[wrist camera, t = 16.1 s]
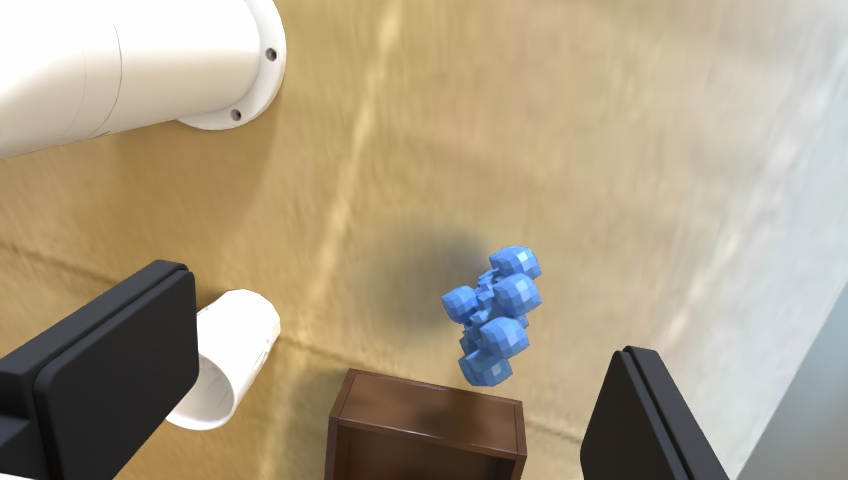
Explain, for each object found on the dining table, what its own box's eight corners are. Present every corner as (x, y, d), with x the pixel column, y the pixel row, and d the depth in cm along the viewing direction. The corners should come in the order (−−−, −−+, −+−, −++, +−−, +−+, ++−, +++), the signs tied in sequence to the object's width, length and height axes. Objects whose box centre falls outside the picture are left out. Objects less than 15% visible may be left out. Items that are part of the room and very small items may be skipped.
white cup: (293, 297, 44) (241, 363, 35) (281, 364, 47) (230, 442, 38) (210, 272, 44) (137, 332, 35) (204, 341, 47) (135, 413, 38)
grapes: (468, 201, 38) (461, 262, 27) (549, 226, 38) (574, 297, 27) (428, 319, 43) (408, 413, 32) (500, 342, 43) (505, 444, 32)
